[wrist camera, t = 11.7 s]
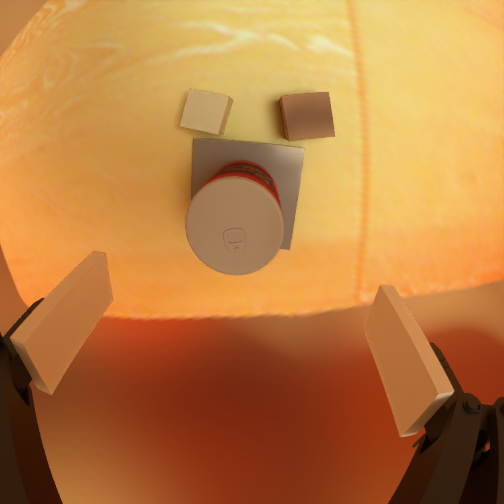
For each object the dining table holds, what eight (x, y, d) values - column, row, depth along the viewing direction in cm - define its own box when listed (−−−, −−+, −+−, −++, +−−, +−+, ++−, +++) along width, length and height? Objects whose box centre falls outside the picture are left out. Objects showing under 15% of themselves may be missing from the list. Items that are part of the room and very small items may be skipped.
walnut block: (279, 100, 27) (281, 95, 23) (319, 96, 27) (328, 91, 23) (285, 139, 29) (289, 141, 25) (325, 134, 29) (335, 136, 25)
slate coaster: (195, 138, 29) (193, 138, 29) (303, 148, 30) (304, 148, 29) (191, 237, 35) (190, 239, 34) (289, 246, 35) (289, 249, 34)
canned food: (228, 237, 34) (213, 288, 24) (197, 177, 31) (165, 204, 21) (288, 213, 32) (300, 256, 22) (260, 148, 29) (259, 160, 19)
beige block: (198, 92, 27) (189, 88, 24) (233, 100, 28) (229, 96, 24) (189, 125, 29) (179, 126, 25) (223, 133, 29) (217, 134, 26)
